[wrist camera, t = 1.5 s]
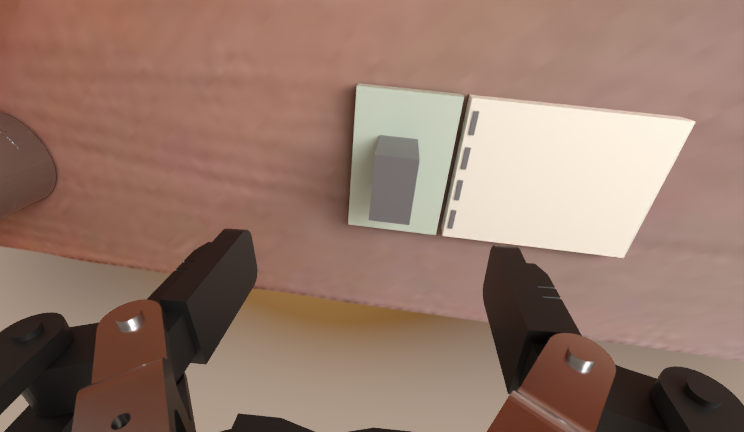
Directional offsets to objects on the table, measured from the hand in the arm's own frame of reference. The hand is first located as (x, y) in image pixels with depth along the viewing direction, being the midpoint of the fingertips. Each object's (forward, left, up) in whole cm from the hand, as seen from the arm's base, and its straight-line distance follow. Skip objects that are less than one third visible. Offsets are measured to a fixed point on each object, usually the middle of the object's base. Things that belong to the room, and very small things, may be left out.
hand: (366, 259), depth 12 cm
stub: (-2, -3, -19) cm, 19 cm away
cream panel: (+6, -13, -19) cm, 24 cm away
